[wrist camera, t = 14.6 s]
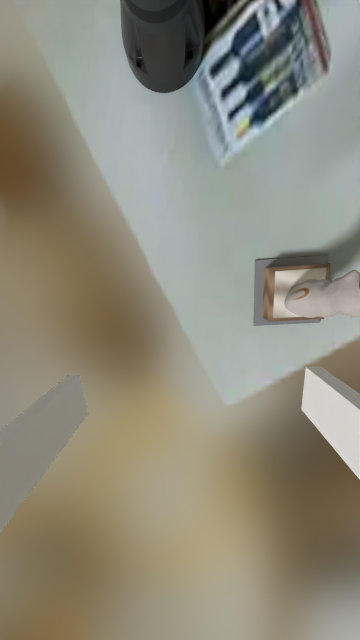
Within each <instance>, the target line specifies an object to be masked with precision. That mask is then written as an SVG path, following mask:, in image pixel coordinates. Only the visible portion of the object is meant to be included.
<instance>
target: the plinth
mask: <svg viewBox="0 0 360 640" xmlns="http://www.w3.org/2000/svg"><path fill="white" fill-rule="evenodd" d="M329 271H330V264H316V265H302V266H289V267H275V268H264V291H263V318H264V319H266V320H267V321H269V322H272V321H290V320H309V319H324V317H314V318H308V317H303V316H300V315H297V314H295V313H293V312H291V311H289V310H287V309H286V307H285V305H284V302H285V298H286V295H287V294H288V292H289V291H290V290H291V289H292V288H293V287H295V286H296V285H298V284H300V283H302V282H304V281H306V280H309V279H316V280H322V279H325V280H328V279H329Z"/></svg>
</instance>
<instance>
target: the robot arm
mask: <svg viewBox="0 0 360 640" xmlns="http://www.w3.org/2000/svg"><path fill="white" fill-rule="evenodd" d="M120 5H121V28H122V38H123V44H124V48H125V52H126V55H127V59H128V62H129V65H130V67H131V69H132V71H133V73H134V75H135V76H136V78H137V79H138V80H139V81H140V82H141V83H142V84H143V85H144V86H145V87H147V88H148V89H150V90H152V91H155V92H160V93H167V92H172V91H175V90H177V89H179V88H181V87H182V86H184V85H185V84H186V83H187V82H188V81H189V80H190V79H191V78H192V76H193V75H194V73H195V72H196V70H197V68H198V66H199V63H200V61H201V58H202V54H203V49H204V36H205V15H204V8H203V2H202V0H120ZM302 410H303V412H304V413H305V414H306V415H307V416H308V418H309V419H310V420H311V421H312V423H313V424H314V425H315V426H316V427H317V429H318V430H319V431H320V432H321V433H322V435H323V436H324V437H325V438H326V439H327V441H328V442H329V443H330V444H331V445H332V447H333V448H334V449H335V450H336V451H337V453H338V454H339V455H340V456H341V457H342V458H343V460H344V461H345V462H346V464H348V466H349V467H350V468H351V470H352V471H353V472H354V473H355V474H356V476H357V477H358V478H359V479H360V394H359V393H357V392H356V391H354V390H353V389H352V388H350V387H349V386H347V385H346V384H344V383H343V382H342V381H340V380H338V379H337V378H336V377H335V376H333V375H332V374H330V373H329V372H327V371H326V370H325V369H323V368H322V367H306V371H305V381H304V392H303V400H302ZM87 415H88V410H87V405H86V401H85V396H84V392H83V387H82V384H81V378H80V375H71V376H67V377H66V378H64V379H63V380H62V381H61V382H59V383H58V384H57V385H56V386H55V387H53V388H52V389H51V390H50V391H48V392H47V393H46V394H45V395H43V396H42V397H41V398H40V399H39V400H37V401H36V402H35V403H34V404H32V405H31V406H30V407H29V408H28V409H26V410H25V411H24V412H23V413H21V414H20V415H19V416H18V417H17V418H15V419H14V420H13V421H12V422H10V423H9V424H8V425H7V426H6V427H4V428H3V429H2V430H1V431H0V533H1V532H2V530H3V529H4V528H5V526H6V525H7V524H8V522H9V521H10V519H11V518H12V517H13V515H14V514H15V513H16V511H17V510H18V509H19V507H20V506H21V505H22V503H23V502H24V500H25V499H26V498H27V496H28V495H29V494H30V492H31V491H32V490H33V488H34V487H35V486H36V484H37V483H38V481H39V480H40V479H41V477H42V476H43V474H44V473H45V472H46V471H47V469H48V468H49V466H50V465H51V464H52V462H53V461H54V460H55V458H56V457H57V455H58V454H59V453H60V452H61V450H62V449H63V448H64V446H65V445H66V443H67V442H68V441H69V439H70V438H71V437H72V435H73V434H74V433H75V431H76V430H77V429H78V427H79V426H80V424H81V423H82V421H83V420H84V419H85V418H86V416H87Z"/></svg>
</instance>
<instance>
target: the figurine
mask: <svg viewBox="0 0 360 640" xmlns="http://www.w3.org/2000/svg"><path fill="white" fill-rule="evenodd" d="M284 305H285V307H286V309H287V310H289V311H291V312H293V313H295V314H297V315H300V316H303V317H308V318H314V317H331V316H333V315H336V314H338V313H339V314H343V315H346V316H350V317H360V274H359V272H358V271H356V270H352V271H350V272H348V273H347V274H346V275H344V276H343V277H340V278H337V279H335V280H334V281H330V280H325V279H322V280H316V279H309V280H306V281H304V282H302V283H300V284H298V285H296V286H295V287H293V288H292V289H291V290H290V291H289V292H288V294H287V295H286V298H285V302H284Z"/></svg>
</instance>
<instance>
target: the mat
mask: <svg viewBox="0 0 360 640" xmlns="http://www.w3.org/2000/svg"><path fill="white" fill-rule="evenodd" d="M316 264H327V255H318V256H305V257H292V258H279V259H266V260H255V292H254V326H259V325H279V324H298V323H317V322H320V319H309V320H290V321H272V322H269V321H267V320H266V319H264V318H263V291H264V268H275V267H289V266H302V265H316Z"/></svg>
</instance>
